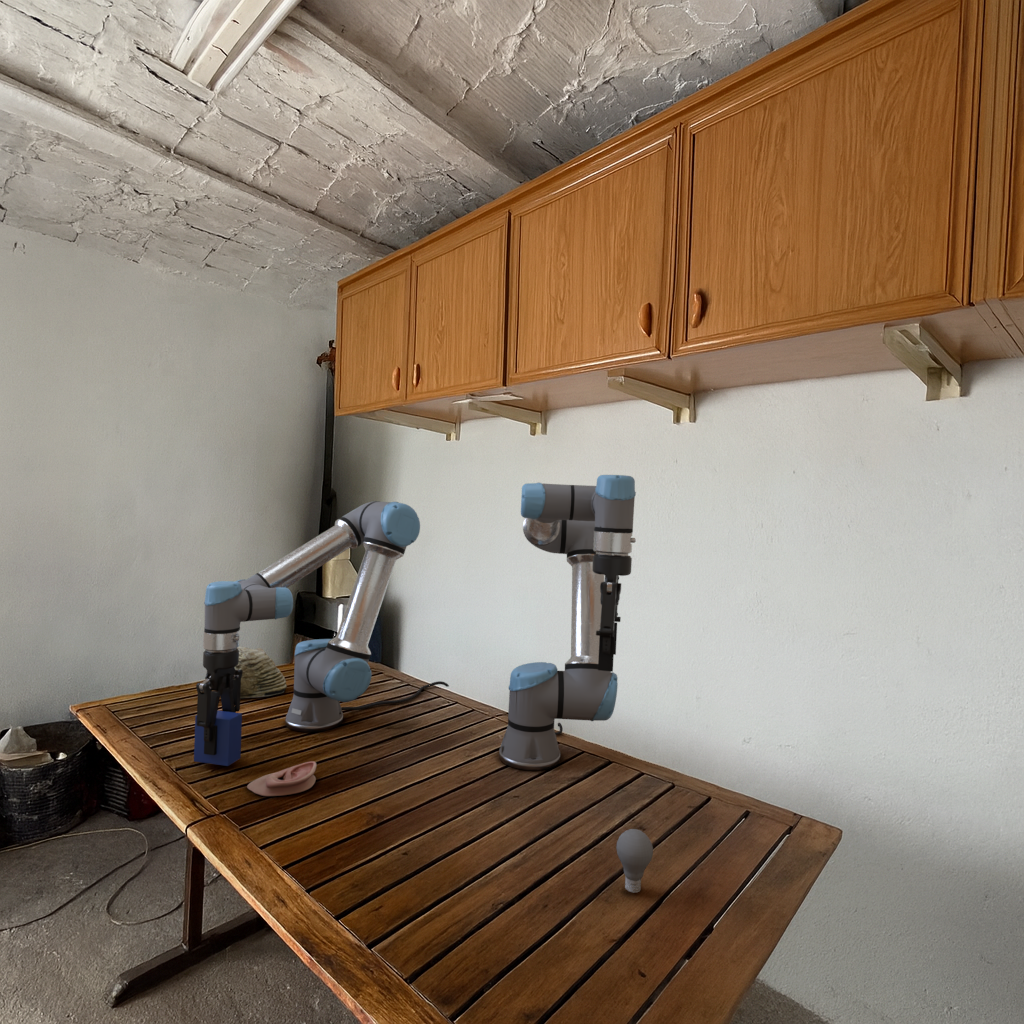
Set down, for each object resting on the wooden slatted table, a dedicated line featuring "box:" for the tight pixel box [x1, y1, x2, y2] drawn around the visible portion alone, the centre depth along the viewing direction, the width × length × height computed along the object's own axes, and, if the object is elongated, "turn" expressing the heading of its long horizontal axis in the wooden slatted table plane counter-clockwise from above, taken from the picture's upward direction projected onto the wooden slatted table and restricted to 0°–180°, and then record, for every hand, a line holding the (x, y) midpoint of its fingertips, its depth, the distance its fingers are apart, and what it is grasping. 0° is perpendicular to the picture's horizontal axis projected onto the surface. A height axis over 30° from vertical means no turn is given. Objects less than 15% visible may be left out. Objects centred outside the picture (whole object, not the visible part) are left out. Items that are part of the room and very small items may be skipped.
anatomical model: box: [246, 760, 317, 797], centre depth 138 cm, size 13×4×12 cm
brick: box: [193, 709, 243, 767], centre depth 146 cm, size 9×5×11 cm, turn 78°
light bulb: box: [615, 828, 654, 894], centre depth 106 cm, size 6×6×10 cm
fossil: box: [235, 646, 288, 699], centre depth 198 cm, size 9×18×15 cm, turn 132°
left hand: (217, 749), depth 146 cm, fingers closed on brick, 5 cm apart
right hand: (607, 661), depth 124 cm, fingers open, 13 cm apart
